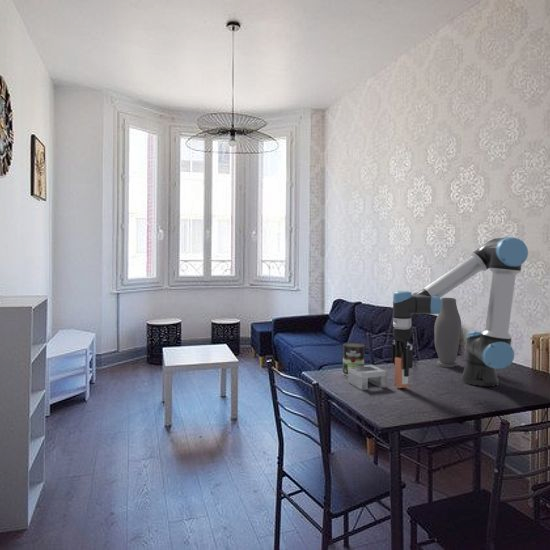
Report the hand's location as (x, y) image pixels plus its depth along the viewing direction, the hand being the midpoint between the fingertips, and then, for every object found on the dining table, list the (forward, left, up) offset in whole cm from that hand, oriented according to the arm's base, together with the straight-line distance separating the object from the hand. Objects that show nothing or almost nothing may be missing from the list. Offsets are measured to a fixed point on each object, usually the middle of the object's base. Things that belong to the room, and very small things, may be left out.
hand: (401, 382), depth 188 cm
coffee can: (+8, -26, -3) cm, 28 cm away
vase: (-47, -26, -3) cm, 54 cm away
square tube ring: (+11, -9, -3) cm, 15 cm away
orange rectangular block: (0, 0, -2) cm, 2 cm away
